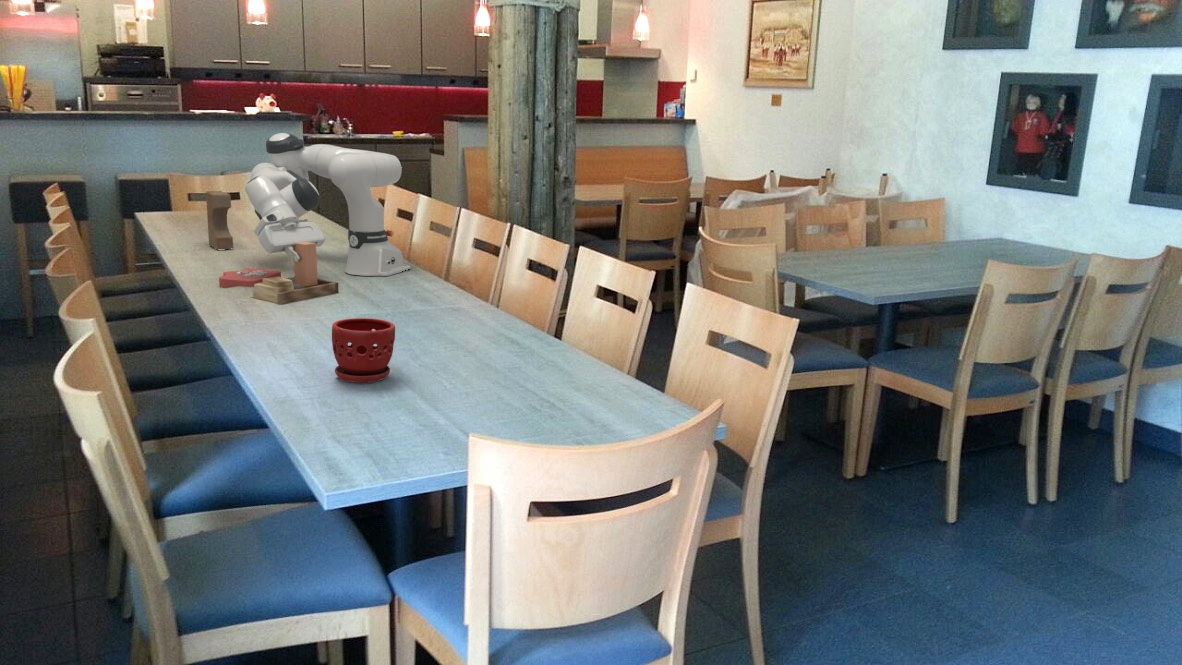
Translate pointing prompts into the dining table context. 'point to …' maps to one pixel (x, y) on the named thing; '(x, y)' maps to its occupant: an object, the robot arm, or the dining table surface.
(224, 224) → the decorative block
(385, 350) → the plant pot
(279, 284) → the offcut stack
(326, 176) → the robot arm
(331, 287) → the brown wooden tray
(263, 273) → the plaque
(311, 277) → the salmon orange upright block
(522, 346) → the dining table surface
